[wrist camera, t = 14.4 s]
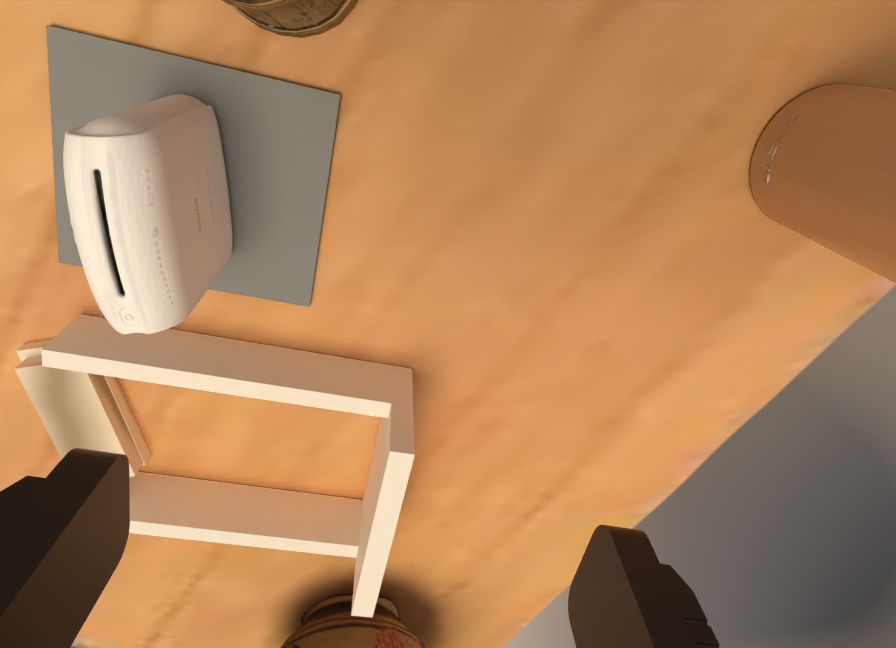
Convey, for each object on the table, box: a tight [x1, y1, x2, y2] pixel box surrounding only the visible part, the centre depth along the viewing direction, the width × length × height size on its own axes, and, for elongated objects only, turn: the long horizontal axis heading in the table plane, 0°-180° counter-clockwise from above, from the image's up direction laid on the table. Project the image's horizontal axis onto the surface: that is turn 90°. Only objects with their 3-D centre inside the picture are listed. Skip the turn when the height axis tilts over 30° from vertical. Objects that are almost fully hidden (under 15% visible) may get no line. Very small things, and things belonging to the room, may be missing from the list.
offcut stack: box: [15, 340, 151, 477], centre depth 42 cm, size 5×11×3 cm, turn 7°
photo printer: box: [63, 94, 233, 334], centre depth 31 cm, size 10×4×12 cm, turn 177°
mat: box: [46, 25, 341, 307], centre depth 37 cm, size 16×14×1 cm
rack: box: [41, 314, 415, 618], centre depth 41 cm, size 23×14×10 cm, turn 77°
